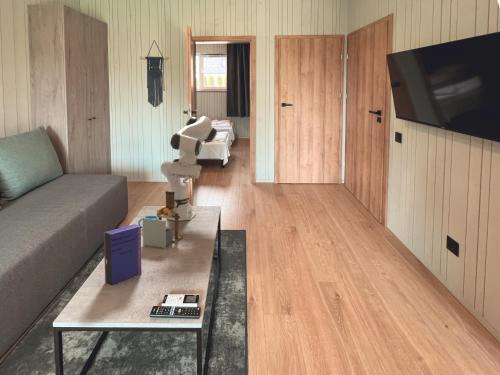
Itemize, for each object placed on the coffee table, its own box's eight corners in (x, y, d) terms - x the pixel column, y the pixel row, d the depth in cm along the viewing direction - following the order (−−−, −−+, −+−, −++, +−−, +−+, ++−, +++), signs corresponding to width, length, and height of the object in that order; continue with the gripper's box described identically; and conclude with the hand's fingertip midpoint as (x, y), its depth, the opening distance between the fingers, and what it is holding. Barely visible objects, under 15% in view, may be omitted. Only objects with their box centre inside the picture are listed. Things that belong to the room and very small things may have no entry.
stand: (161, 235, 296) (161, 209, 293) (183, 238, 292) (183, 211, 288) (153, 239, 287) (153, 213, 283) (175, 242, 282) (175, 215, 279)
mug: (159, 228, 309) (158, 216, 307) (155, 232, 301) (155, 219, 299) (140, 227, 310) (140, 215, 308) (136, 231, 302) (136, 218, 300)
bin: (153, 240, 286) (152, 213, 283) (174, 243, 282) (174, 216, 279) (143, 245, 276) (142, 218, 272) (165, 248, 271) (165, 221, 268)
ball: (165, 213, 286) (165, 207, 285) (170, 213, 285) (170, 207, 284) (162, 214, 283) (162, 208, 282) (167, 215, 282) (167, 209, 281)
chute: (164, 214, 291) (164, 190, 288) (177, 216, 288) (177, 191, 285) (156, 218, 282) (155, 193, 279) (169, 220, 279) (169, 195, 276)
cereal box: (134, 271, 238) (133, 223, 233) (141, 274, 235) (140, 225, 230) (105, 282, 224) (103, 231, 219) (112, 285, 221) (110, 234, 216)
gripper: (204, 168, 303) (197, 186, 296) (174, 165, 309) (166, 183, 302) (201, 161, 298) (194, 180, 291) (170, 159, 304) (163, 177, 297)
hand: (179, 182), depth 297 cm, fingers open, 4 cm apart
